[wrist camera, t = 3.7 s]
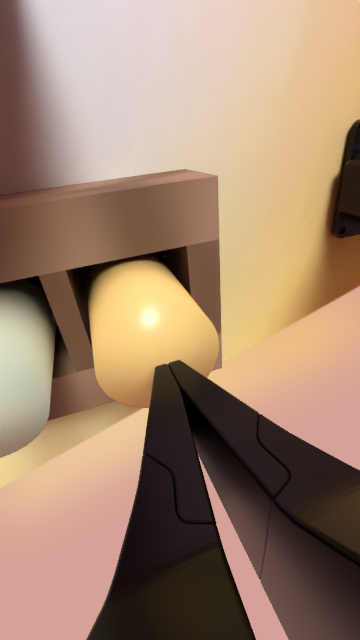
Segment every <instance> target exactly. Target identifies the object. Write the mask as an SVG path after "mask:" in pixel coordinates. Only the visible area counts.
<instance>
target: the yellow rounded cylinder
mask: <svg viewBox="0 0 360 640" xmlns="http://www.w3.org/2000/svg"><path fill="white" fill-rule="evenodd" d="M86 292H87V303H88V312H89V321H90V331H91V340H92V350H93V359H94V369H95V375H96V379H97V381H98V383H99V385H100V387H101V388H102V390H103V391H104V392H105V393H106V394H107V395H108V396H109V397H110V398H112V399H113V400H115V401H117V402H119V403H121V404H124V405H127V406H131V407H138V408H149V406H150V399H151V391H152V384H153V377H154V370H155V367H156V366H158V365H162V364H168V363H169V362H172V361H176V360H181V361H183V362H184V363H185V364H187V365H188V366H190V367H191V368H193V369H194V370H196V371H197V372H199V373H200V374H202V375H203V376H205V377H206V378H207V376H208V375H209V374H210V372H211V371H212V369H213V367H214V365H215V363H216V360H217V357H218V351H219V339H218V335H217V331H216V329H215V327H214V325H213V324H212V322H211V321H210V320H209V318H208V317H207V316H206V315H205V313H204V312H203V311H202V310H201V308H200V307H199V306H198V305H197V303H196V302H195V301H194V300H193V298H192V297H191V296H190V295H189V293H188V292H187V291H186V290H185V288H184V287H183V286H182V285H181V283H180V282H179V281H178V280H177V278H176V277H175V276H174V275H173V274H172V272H171V271H170V270H169V269H168V267H167V266H166V265H165V264H164V262H163V261H162V260H161V259H160V258H159V257H157V256H156V255H154V254H153V253H148V254H143V255H138V256H133V257H128V258H123V259H118V260H113V261H108V262H103V263H98V264H96V265H95V266H94V267H93V269H92V271H91V273H90V275H89V277H88V281H87V287H86Z"/></svg>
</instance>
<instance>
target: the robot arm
mask: <svg viewBox="0 0 360 640" xmlns="http://www.w3.org/2000/svg"><path fill="white" fill-rule="evenodd" d="M340 229H341V230H340ZM339 231H340V232H339ZM358 234H360V119H359V120H357V121H356V122H355V123H354V124H353V126H352V128H351V131H350V136H349V142H348V147H347V152H346V157H345V163H344V168H343V173H342V179H341V184H340V189H339V195H338V200H337V205H336V210H335V216H334V221H333V226H332V235H333V236H334V237H337V238H345V237H349V236H354V235H358ZM198 455H199V457H200V459H201V461H202V463H203V465H204V467H205V469H206V471H207V473H208V475H209V477H210V479H211V481H212V483H213V485H214V487H215V489H216V491H217V494H218V496H219V497H220V500H221V502H222V504H223V506H224V508H225V510H226V512H227V514H228V516H229V518H230V520H231V522H232V524H233V526H234V528H235V530H236V532H237V534H238V537H239V539H240V541H241V543H242V545H243V547H244V549H245V551H246V553H247V555H248V557H249V559H250V561H251V563H252V565H253V567H254V569H255V571H256V573H257V575H258V577H259V579H260V580H261V584H262V586H263V588H264V590H265V592H266V594H267V596H268V598H269V600H270V602H271V604H272V606H273V608H274V610H275V612H276V614H277V616H278V619H279V621H280V623H281V625H282V627H283V629H284V631H285V633H286V635H287V637H288V639H289V640H360V470H358V469H356V468H354V467H352V466H350V465H348V464H346V463H344V462H342V461H340V460H339V459H337V458H335V457H333V456H331V455H329V454H327V453H326V452H324V451H322V450H320V449H318V448H316V447H315V446H313V445H311V444H309V443H307V442H305V441H304V440H302V439H300V438H298V437H296V436H295V435H293V434H291V433H289V432H288V431H286V430H284V429H283V428H281V427H280V426H278V425H277V424H275V423H273V422H272V421H270V420H269V419H267V418H266V417H264V416H263V415H261V414H259V413H258V412H257V411H255V410H254V409H252V408H251V407H249V406H248V405H246V404H245V403H243V402H242V401H240V400H239V399H237V398H236V397H235V396H233V395H232V394H230V393H229V392H227V391H226V390H224V389H223V388H221V387H219V386H218V385H217V384H215V383H214V382H212V381H211V380H209V379H208V378H206V377H205V376H203V375H202V374H200V373H199V372H197V371H196V370H194V369H193V368H191V367H190V366H188V365H187V364H185V363H184V362H183V361H181V360H176V361H172V362H169V363H168V364H162V365H158V366H156V367H155V370H154V377H153V384H152V391H151V399H150V406H149V414H148V421H147V428H146V435H145V443H144V450H143V457H142V463H141V470H140V476H139V481H138V488H137V491H136V495H135V500H134V504H133V508H132V512H131V516H130V519H129V523H128V527H127V530H126V534H125V538H124V542H123V545H122V549H121V553H120V556H119V560H118V564H117V567H116V570H115V574H114V577H113V580H112V584H111V586H110V590H109V592H108V595H107V597H106V600H105V602H104V605H103V607H102V609H101V611H100V613H99V615H98V617H97V619H96V621H95V623H94V625H93V628H92V629H91V632H90V633H89V636H88V638H87V639H86V640H256V638H255V636H254V633H253V630H252V628H251V625H250V622H249V619H248V616H247V614H246V611H245V608H244V606H243V603H242V600H241V597H240V594H239V592H238V589H237V586H236V583H235V581H234V578H233V575H232V572H231V570H230V567H229V564H228V561H227V558H226V555H225V552H224V549H223V546H222V543H221V539H220V536H219V532H218V528H217V526H216V521H215V517H214V514H213V510H212V506H211V502H210V498H209V495H208V491H207V487H206V484H205V480H204V476H203V472H202V469H201V465H200V461H199V457H198Z"/></svg>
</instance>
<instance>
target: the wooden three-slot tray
mask: <svg viewBox="0 0 360 640" xmlns="http://www.w3.org/2000/svg"><path fill="white" fill-rule="evenodd" d="M163 250H166V258H167V265H168V269H169V270H170V271H171V272H172V274H173V275H174V276H175V277H176V278H177V280H178V281H179V282H180V283H181V285H182V286H183V287H184V288H185V290H186V291H187V292H188V293H189V295H190V296H191V297H192V298H193V300H194V301H195V302H196V303H197V305H198V306H199V307H200V308H201V310H202V311H203V312H204V313H205V315H206V316H207V317H208V318H209V320H210V321H211V322H212V324H213V325H214V327H215V329H216V331H217V335H218V339H219V351H218V357H217V360H216V363H215V365H214V367H213V369H212V371H213V370H216V369H220V368H222V348H221V302H220V256H219V211H218V176H216V175H211V174H206V173H201V172H196V171H191V170H186V169H183V170H176V171H169V172H162V173H155V174H148V175H141V176H133V177H126V178H119V179H112V180H105V181H98V182H91V183H84V184H77V185H70V186H62V187H55V188H48V189H41V190H34V191H27V192H20V193H13V194H6V195H0V283H4V282H9V281H14V280H19V279H24V278H29V277H34V276H39V278H40V281H41V283H42V286H43V288H44V291H45V294H46V296H47V299H48V301H49V304H50V306H51V309H52V311H53V314H54V317H55V319H56V322H57V324H58V327H59V329H60V332H61V333H57V334H56V337H55V349H54V362H53V374H52V386H51V398H50V411H49V417H48V420H47V421H49V420H52V419H55V418H59V417H62V416H65V415H69V414H72V413H75V412H78V411H82V410H85V409H88V408H92V407H95V406H98V405H101V404H105V403H108V402H111V401H115V400H113V399H112V398H110V397H109V396H108V395H107V394H106V393H105V392H104V391H103V390H102V388H101V387H100V385H99V383H98V381H97V379H96V375H95V369H94V359H93V350H92V340H91V331H90V321H89V312H88V309H87V305H86V302H85V299H84V296H83V293H82V289H81V286H80V283H79V280H78V277H77V273H76V270H75V268H79V267H84V266H89V265H94V264H98V263H103V262H108V261H113V260H118V259H123V258H128V257H133V256H138V255H143V254H148V253H153V252H158V251H163Z"/></svg>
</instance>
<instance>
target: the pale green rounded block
mask: <svg viewBox="0 0 360 640" xmlns="http://www.w3.org/2000/svg"><path fill="white" fill-rule="evenodd" d="M56 325H57V322H56V319H55V317H54V314H53V311H52V309H51V306H50V304H49V301H48V299H47V296H46V294H45V293H44V292H43V291H42V290H41V289H40V288H38V287H37V286H36V285H34V284H32V283H30V282H29V281H26V280H24V279H19V280H14V281H9V282H4V283H0V458H1V457H3V456H6V455H9V454H11V453H13V452H16V451H18V450H19V449H21V448H23V447H25V446H26V445H27V444H29V443H30V442H32V441H33V440H34V439H35V438H36V437H37V436H38V435H39V434H40V432H41V431H42V430H43V428H44V427H45V425H46V423H47V420H48V417H49V411H50V398H51V386H52V374H53V362H54V349H55V337H56Z"/></svg>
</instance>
